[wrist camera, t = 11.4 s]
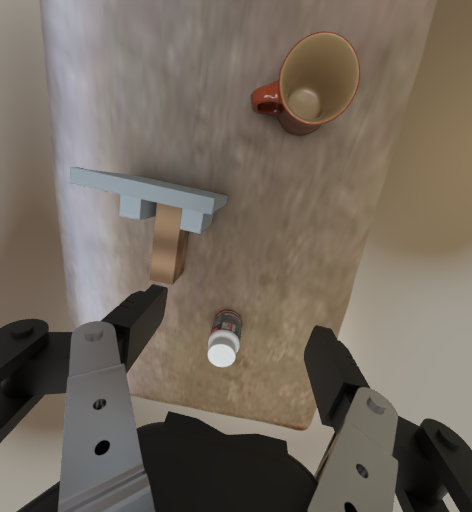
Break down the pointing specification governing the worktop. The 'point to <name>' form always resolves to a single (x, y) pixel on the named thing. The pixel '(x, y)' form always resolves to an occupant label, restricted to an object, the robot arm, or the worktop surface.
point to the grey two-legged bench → (153, 196)
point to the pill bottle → (224, 338)
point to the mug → (311, 84)
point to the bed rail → (168, 245)
